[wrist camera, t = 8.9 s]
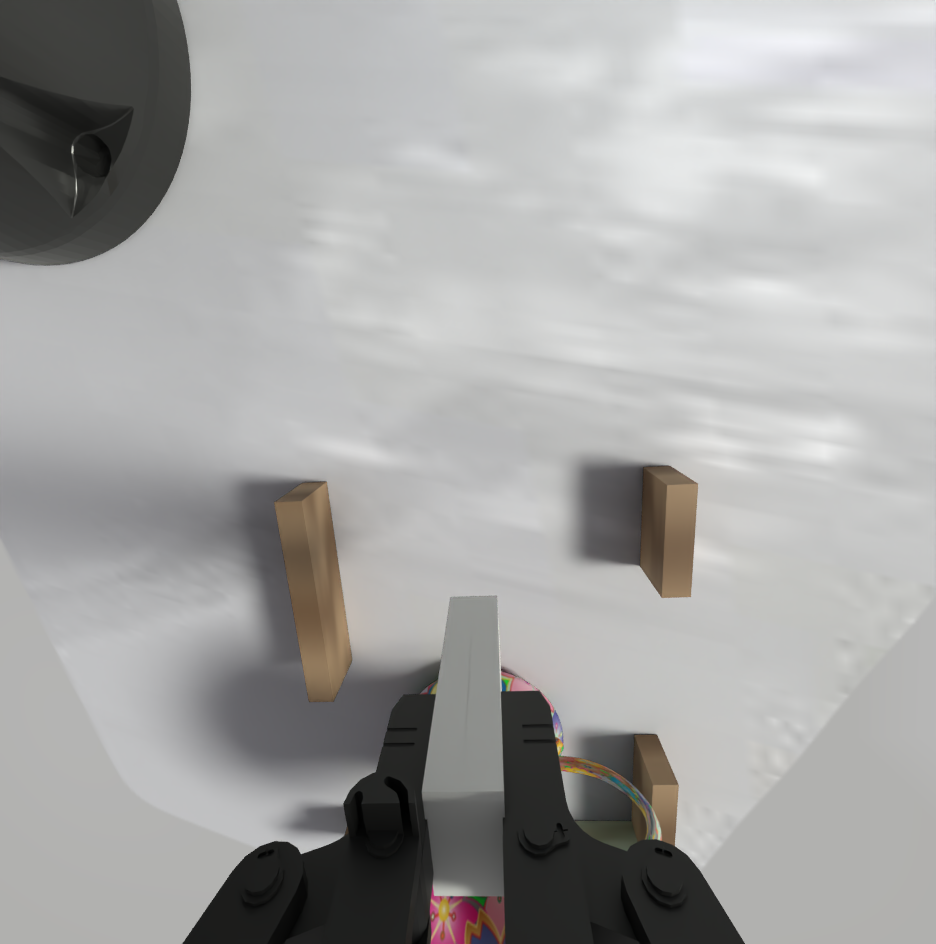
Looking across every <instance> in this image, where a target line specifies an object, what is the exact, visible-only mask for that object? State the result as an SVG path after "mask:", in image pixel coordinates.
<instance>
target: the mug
mask: <svg viewBox="0 0 936 944" xmlns="http://www.w3.org/2000/svg"><path fill="white" fill-rule="evenodd" d="M437 684H438V680H436V681H435V682H433V683H432V684H430V685H429V686H428V687H426V688H425V689H424V690H423V691H422V692H421V693H420V694H436V691H437ZM501 686H502V691H539V690H538V689H537V688H535V687H534V686H533V685H531V684H530V683H528V682H526V681H525V680H523V679H521V678H519V677H516V676H514V675H511V674H508V673H505V672H501ZM541 694H542V693H541ZM542 695H543V694H542ZM543 696H544V695H543ZM544 698H545V699H546V701H547V702H548V704H549V705H550V708H551V714H552V720H553V728H554V732H555V738H556V744H557V750H558V756H559V762H560V768H561V771H566V772H574V773H580V774H585V775H589V776H592V777H595V778H598V779H600V780H603V781H605V782H607V783H609V784H611V785H612V786H614V787H616V788H617V789H619V790H620V791H622V792H623V793H624V794H626V795H627V796H628V797H629V798H630V799H631V800H632V801H633V802H634V803H635V804H636V805H637V806H638V807H639V808H640V810H641V811H642V813H643V815H644V817H645V820H646V823H647V834H646V838H645V840H648V839H657V840H660V841H662V835H661V828H660V825H659V821H658V819H657V817H656V815H655V812H654V810H653V809H652V807H651V806H650V804H649V802H648V801H647V800H646V798H645V797H644V796H643V795H642V793H641V792H640V791H639V790H638V789H637V788H636V787H635V786H633V785H632V784H631V783H630V782H629V781H628V780H626V779H625V778H624V777H622V776H621V775H619V774H618V773H616V772H614V771H613V770H611V769H609V768H607V767H605V766H603V765H600V764H598V763H595V762H592V761H589V760H585V759H581V758H575V757H566V756H561V754H562V751H563V747H564V746H563V731H562V726H561V722H560V720H559V717H558V715H557V713H556V711H555V709H554V707H553V706H552V704H551V703H550V701H549V700H548V699H547V698H546V697H545V696H544ZM430 917H431V931H432V935H431V944H505V913H504V896H434V890H433V885H432V894H431V904H430Z"/></svg>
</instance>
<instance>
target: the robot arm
mask: <svg viewBox="0 0 936 944" xmlns="http://www.w3.org/2000/svg"><path fill="white" fill-rule="evenodd" d="M190 101H191V75H190V63H189V54H188V47H187V40H186V35H185V30H184V25H183V21H182V17H181V13H180V10H179V6H178V3H177V0H0V259H3V260H8V261H14V262H19V263H25V264H33V265H60V264H68V263H74V262H78V261H83V260H86V259H89V258H92V257H95V256H97V255H100V254H102V253H104V252H106V251H108V250H110V249H112V248H114V247H115V246H117V245H118V244H120V243H121V242H123V241H124V240H126V239H127V238H128V237H130V236H131V235H132V234H133V233H135V232H136V231H137V230H138V229H139V228H140V227H141V226H142V225H143V224H144V223H145V222H146V220H147V219H148V218H149V217H150V216H151V215H152V213H153V212H154V211H155V209H156V208H157V206H158V205H159V204H160V202H161V200H162V199H163V197H164V196H165V194H166V192H167V190H168V188H169V186H170V184H171V182H172V180H173V178H174V175H175V173H176V170H177V168H178V165H179V162H180V159H181V156H182V153H183V149H184V145H185V140H186V135H187V130H188V124H189V115H190ZM383 744H384V745H383V747H382V751H381V755H380V758H379V762H378V766H377V770H376V772H375V773H372V774H370V775H369V776H367V777H365V778H363V779H361V780H360V781H359V782H358V783H357V784H356V785H355V786H354V787H353V788H352V789H351V790H350V792H349V793H348V795H347V797H346V799H345V801H344V803H343V805H344V810H345V816H346V821H347V826H348V832H349V833H348V834H346V835H345V836H344V837H342V838H341V839H339V840H338V841H335V842H333V843H331V844H329V845H326V846H324V847H321V848H318V849H315V850H312V851H309V852H307V853H304V854H300V852H299V850H298V848H297V847H295V846H294V845H292V844H290V843H289V842H278V841H274V842H271V843H268V844H265V845H262V846H260V847H258V848H257V849H255V850H254V851H253V852H251V853H250V854H248V855H247V856H245V857H244V859H243V860H242V861H241V862H240V863H239V864H238V865H237V866H236V868H235V869H234V870H233V871H232V873H231V874H230V875H229V877H228V878H227V880H226V881H225V883H224V884H223V886H222V887H221V888H220V890H219V891H218V893H217V894H216V896H215V897H214V899H213V900H212V902H211V903H210V905H209V906H208V907H207V909H206V910H205V912H204V913H203V915H202V916H201V918H200V919H199V921H198V922H197V923H196V925H195V926H194V928H193V929H192V931H191V932H190V933H189V935H188V936H187V938H186V939H185V941H184V942H183V944H431V935H432V931H431V917H430V904H431V894H432V885H433V890H434V896H504V913H505V944H745V943H744V942H743V940H742V938H741V937H740V935H739V934H738V932H737V930H736V928H735V927H734V925H733V924H732V922H731V920H730V919H729V917H728V916H727V914H726V912H725V911H724V909H723V907H722V906H721V904H720V903H719V901H718V899H717V898H716V896H715V895H714V893H713V891H712V890H711V888H710V886H709V885H708V883H707V881H706V880H705V878H704V877H703V875H702V873H701V872H700V870H699V869H698V868H697V867H696V865H695V864H694V863H693V862H692V860H691V859H690V858H689V857H688V856H687V855H686V854H685V853H683V852H682V851H681V850H679V849H678V848H676V847H675V846H674V845H672V844H669V843H666V842H663V841H660V840H657V839H648V840H640V841H639V842H637V843H635V844H633V845H631V846H630V847H629V849H628V851H625V850H622V849H620V848H617V847H614V846H611V845H608V844H605V843H603V842H601V841H599V840H596V839H594V838H592V837H591V836H590V835H588V834H587V833H586V832H584V831H583V830H582V829H581V828H580V827H579V825H578V824H577V823H576V822H575V821H574V819H573V817H572V816H571V814H570V812H569V809H568V806H567V803H566V798H565V792H564V786H563V780H562V774H561V768H560V762H559V756H558V750H557V744H556V738H555V732H554V728H553V720H552V714H551V708H550V705H549V704H548V702H547V701H546V699H545V698H544V696H543V695H542V694H541V692H540V691H502V686H501V661H500V642H499V622H498V603H497V596H470V597H450V603H449V610H448V616H447V623H446V630H445V637H444V644H443V650H442V657H441V664H440V671H439V678H438V684H437V691H436V694H409V695H403V696H402V698H401V699H400V700H399V702H398V703H397V704H396V706H395V707H394V708H393V710H392V712H391V716H390V720H389V724H388V727H387V732H386V735H385V739H384V743H383Z"/></svg>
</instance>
